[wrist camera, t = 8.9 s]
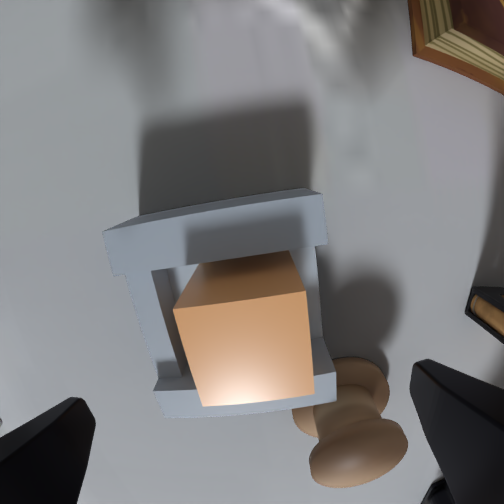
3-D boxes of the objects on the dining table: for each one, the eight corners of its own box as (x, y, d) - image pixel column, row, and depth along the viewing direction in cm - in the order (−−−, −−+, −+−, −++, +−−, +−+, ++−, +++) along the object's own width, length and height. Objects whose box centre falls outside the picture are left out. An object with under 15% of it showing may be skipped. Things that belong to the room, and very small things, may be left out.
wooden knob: (380, 416, 18) (406, 474, 12) (294, 434, 18) (303, 499, 13) (387, 347, 16) (426, 407, 11) (286, 367, 16) (296, 439, 11)
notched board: (321, 354, 16) (336, 400, 12) (180, 371, 17) (164, 418, 13) (304, 187, 14) (322, 193, 10) (138, 216, 14) (102, 231, 11)
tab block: (298, 328, 15) (314, 393, 10) (216, 339, 15) (202, 406, 10) (288, 248, 14) (305, 290, 9) (199, 262, 14) (172, 309, 9)
